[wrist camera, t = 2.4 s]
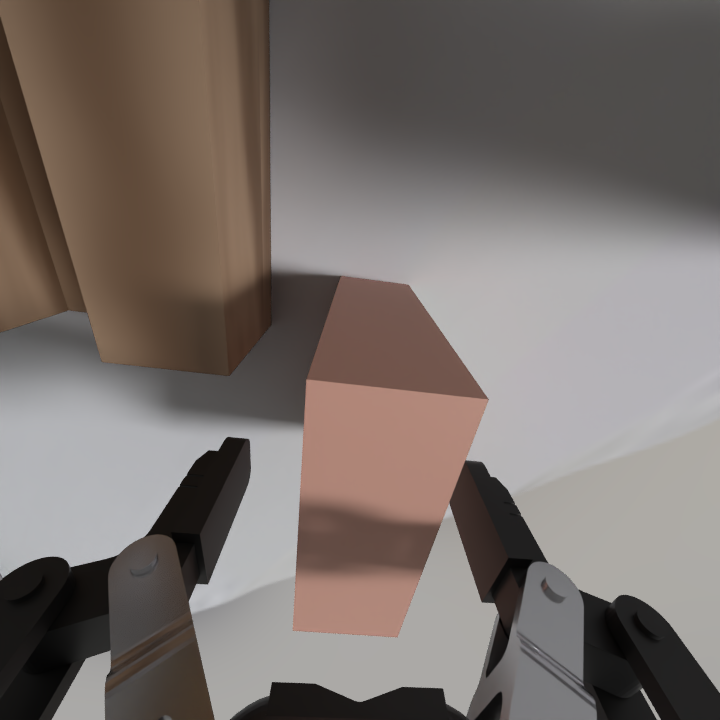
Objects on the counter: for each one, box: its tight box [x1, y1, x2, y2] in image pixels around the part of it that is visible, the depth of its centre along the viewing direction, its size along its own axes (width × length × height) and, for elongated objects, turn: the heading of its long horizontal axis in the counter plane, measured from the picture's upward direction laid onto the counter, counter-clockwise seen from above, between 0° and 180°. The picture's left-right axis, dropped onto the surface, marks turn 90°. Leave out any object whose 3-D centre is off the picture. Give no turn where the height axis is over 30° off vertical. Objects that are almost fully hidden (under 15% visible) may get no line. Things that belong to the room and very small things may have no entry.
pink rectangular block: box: [293, 276, 489, 637], centre depth 14 cm, size 4×11×12 cm, turn 173°
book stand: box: [0, 0, 271, 376], centre depth 11 cm, size 16×20×6 cm
